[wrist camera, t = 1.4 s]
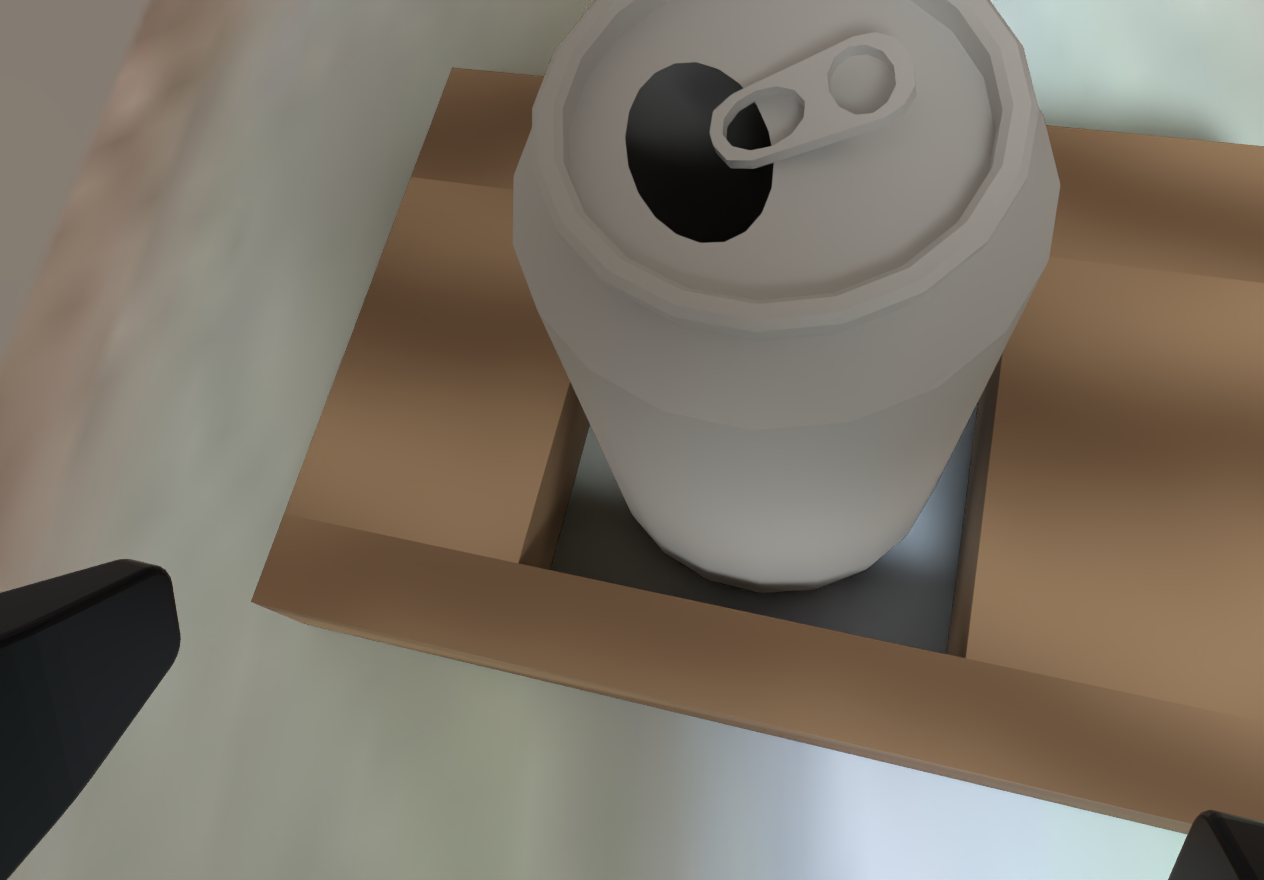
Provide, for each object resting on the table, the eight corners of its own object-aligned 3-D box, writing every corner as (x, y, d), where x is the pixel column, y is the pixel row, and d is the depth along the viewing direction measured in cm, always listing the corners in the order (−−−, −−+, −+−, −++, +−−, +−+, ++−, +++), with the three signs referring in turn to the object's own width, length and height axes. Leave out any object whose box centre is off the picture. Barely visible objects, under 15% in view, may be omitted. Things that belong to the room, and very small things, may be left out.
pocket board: (1223, 843, 18) (1287, 846, 16) (304, 623, 23) (250, 601, 20) (1241, 215, 23) (1293, 149, 21) (479, 130, 27) (452, 67, 25)
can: (592, 346, 24) (443, -46, 13) (881, 277, 24) (977, -187, 13) (651, 634, 21) (522, 440, 10) (980, 561, 21) (1214, 277, 10)
